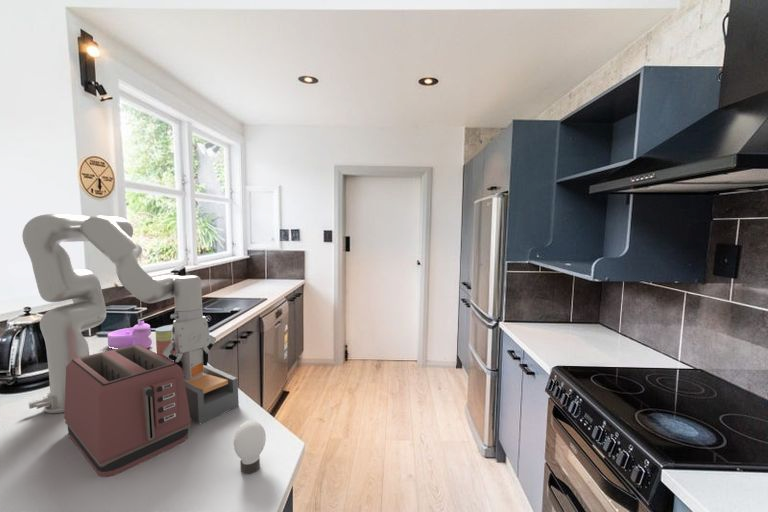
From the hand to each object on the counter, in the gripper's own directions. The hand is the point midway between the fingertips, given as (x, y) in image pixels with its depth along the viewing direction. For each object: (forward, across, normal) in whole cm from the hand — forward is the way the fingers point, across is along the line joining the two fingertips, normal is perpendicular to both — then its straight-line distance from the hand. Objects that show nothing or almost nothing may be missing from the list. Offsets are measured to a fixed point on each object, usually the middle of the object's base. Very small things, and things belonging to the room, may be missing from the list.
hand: (191, 368), depth 107 cm
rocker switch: (+5, 0, -7) cm, 9 cm away
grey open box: (+10, 0, -7) cm, 13 cm away
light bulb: (+11, -8, -44) cm, 46 cm away
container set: (+11, +10, +80) cm, 81 cm away
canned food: (+11, +15, +52) cm, 55 cm away
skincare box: (+3, 0, 0) cm, 3 cm away
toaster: (+11, -19, -6) cm, 23 cm away
